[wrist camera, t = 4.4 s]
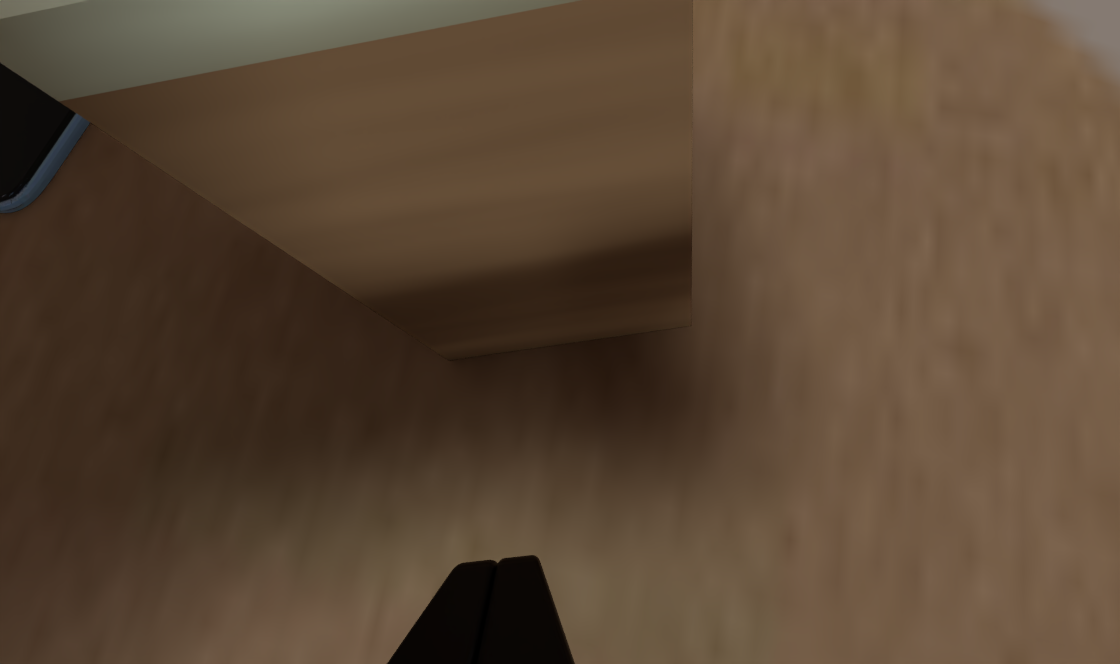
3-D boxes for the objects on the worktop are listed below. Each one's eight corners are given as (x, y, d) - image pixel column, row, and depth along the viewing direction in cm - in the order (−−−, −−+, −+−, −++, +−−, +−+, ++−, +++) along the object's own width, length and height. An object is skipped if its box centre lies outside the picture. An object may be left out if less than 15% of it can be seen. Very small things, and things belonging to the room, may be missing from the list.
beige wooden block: (691, 325, 17) (693, -126, 5) (448, 360, 17) (-51, 28, 6) (656, 99, 18) (593, -689, 6) (430, 139, 18) (-13, -511, 7)
